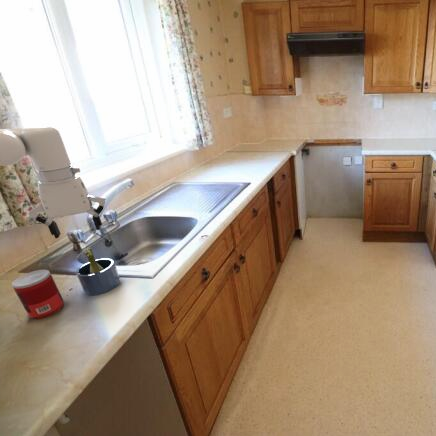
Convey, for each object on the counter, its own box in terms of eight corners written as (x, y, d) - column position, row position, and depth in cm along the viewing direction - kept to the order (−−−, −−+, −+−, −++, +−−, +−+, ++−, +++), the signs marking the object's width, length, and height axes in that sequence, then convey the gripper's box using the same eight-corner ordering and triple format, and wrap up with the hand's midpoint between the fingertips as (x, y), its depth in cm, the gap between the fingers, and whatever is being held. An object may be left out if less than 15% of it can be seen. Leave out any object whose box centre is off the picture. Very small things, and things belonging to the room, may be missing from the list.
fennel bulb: (98, 279, 102) (84, 247, 97) (114, 277, 103) (102, 245, 98) (90, 290, 97) (75, 257, 92) (107, 288, 98) (94, 254, 93)
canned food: (71, 301, 94) (56, 270, 89) (45, 320, 87) (27, 287, 82) (49, 299, 95) (33, 268, 91) (22, 318, 88) (3, 285, 84)
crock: (82, 299, 95) (73, 279, 92) (86, 282, 102) (78, 264, 99) (119, 288, 99) (112, 269, 96) (121, 273, 106) (114, 255, 103)
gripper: (96, 166, 92) (114, 220, 99) (18, 176, 85) (44, 234, 92) (93, 172, 86) (113, 230, 93) (9, 183, 79) (37, 245, 86)
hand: (78, 232), depth 92 cm, fingers open, 9 cm apart
